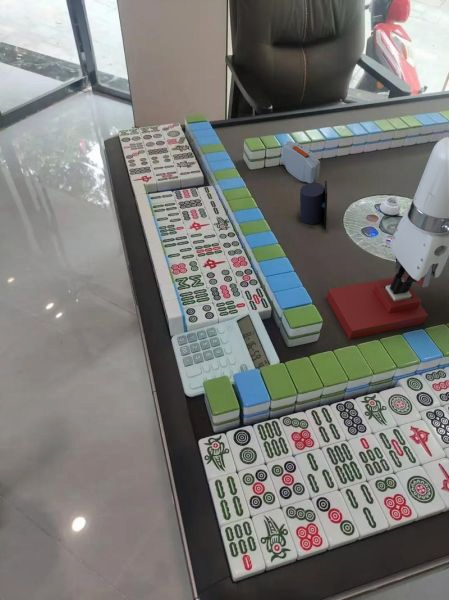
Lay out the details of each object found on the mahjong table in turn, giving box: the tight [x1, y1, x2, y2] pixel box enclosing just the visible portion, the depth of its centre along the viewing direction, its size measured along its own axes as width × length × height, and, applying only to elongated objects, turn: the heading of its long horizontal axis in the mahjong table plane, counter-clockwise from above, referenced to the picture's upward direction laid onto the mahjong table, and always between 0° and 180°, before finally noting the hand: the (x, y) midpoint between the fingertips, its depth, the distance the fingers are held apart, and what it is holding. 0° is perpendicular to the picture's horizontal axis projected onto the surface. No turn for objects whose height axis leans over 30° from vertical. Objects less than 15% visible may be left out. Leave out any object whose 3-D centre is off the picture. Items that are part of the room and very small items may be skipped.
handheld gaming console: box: [280, 140, 321, 184], centre depth 118 cm, size 14×3×8 cm, turn 32°
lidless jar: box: [379, 196, 401, 216], centre depth 109 cm, size 5×3×5 cm
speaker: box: [299, 180, 328, 230], centre depth 104 cm, size 8×6×10 cm
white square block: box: [385, 285, 412, 302], centre depth 85 cm, size 4×4×2 cm
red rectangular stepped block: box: [326, 276, 429, 340], centre depth 86 cm, size 16×11×4 cm
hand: (398, 290), depth 84 cm, fingers closed
